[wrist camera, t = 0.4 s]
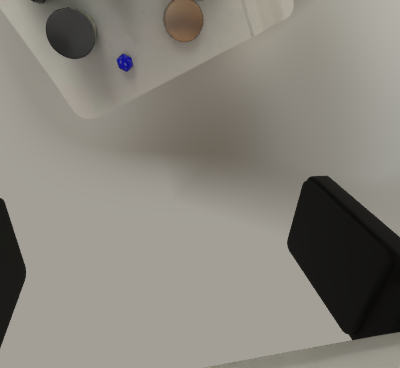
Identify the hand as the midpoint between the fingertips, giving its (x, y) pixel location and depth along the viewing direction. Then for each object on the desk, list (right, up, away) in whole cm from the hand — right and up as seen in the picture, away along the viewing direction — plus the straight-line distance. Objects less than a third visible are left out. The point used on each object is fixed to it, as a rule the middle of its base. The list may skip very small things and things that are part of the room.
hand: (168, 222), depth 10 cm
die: (-13, +24, +46) cm, 54 cm away
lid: (-18, +23, +35) cm, 46 cm away
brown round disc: (-2, +31, +44) cm, 54 cm away
